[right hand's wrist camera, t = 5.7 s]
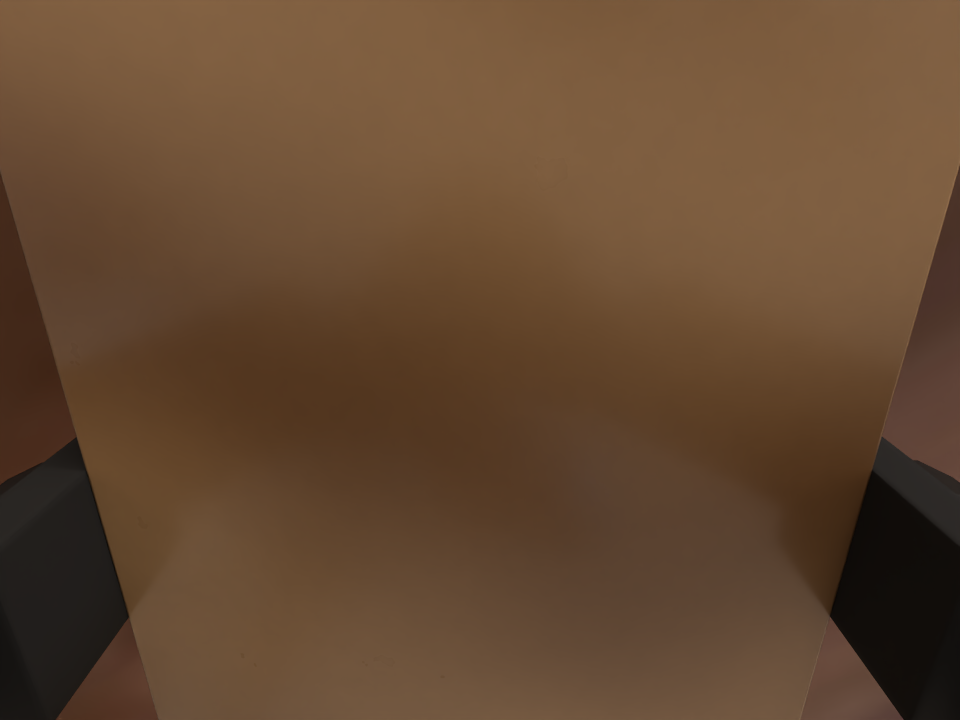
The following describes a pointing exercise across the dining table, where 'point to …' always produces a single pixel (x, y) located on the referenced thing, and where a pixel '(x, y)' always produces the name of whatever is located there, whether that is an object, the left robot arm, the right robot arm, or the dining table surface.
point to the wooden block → (479, 334)
